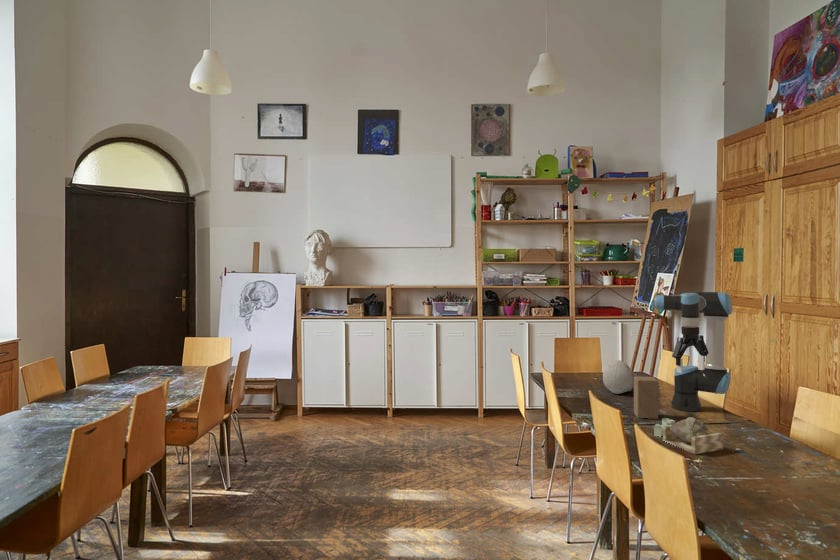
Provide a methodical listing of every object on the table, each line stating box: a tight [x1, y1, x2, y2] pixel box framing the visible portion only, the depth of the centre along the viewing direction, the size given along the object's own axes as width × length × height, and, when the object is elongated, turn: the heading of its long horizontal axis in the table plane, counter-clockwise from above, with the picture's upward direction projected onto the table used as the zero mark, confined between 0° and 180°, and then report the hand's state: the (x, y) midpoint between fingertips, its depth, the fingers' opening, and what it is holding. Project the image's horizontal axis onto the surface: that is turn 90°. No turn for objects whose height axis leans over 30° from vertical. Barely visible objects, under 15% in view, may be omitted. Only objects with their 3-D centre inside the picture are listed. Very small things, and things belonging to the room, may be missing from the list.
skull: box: [602, 359, 634, 395], centre depth 322 cm, size 17×27×20 cm, turn 148°
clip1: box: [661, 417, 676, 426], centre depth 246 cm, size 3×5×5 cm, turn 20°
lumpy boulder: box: [670, 416, 709, 443], centre depth 224 cm, size 11×11×15 cm
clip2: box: [653, 423, 666, 438], centre depth 237 cm, size 3×5×5 cm, turn 49°
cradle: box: [662, 425, 724, 455], centre depth 225 cm, size 16×17×7 cm
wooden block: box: [633, 375, 659, 420], centre depth 269 cm, size 10×10×20 cm
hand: (690, 370), depth 241 cm, fingers open, 13 cm apart
